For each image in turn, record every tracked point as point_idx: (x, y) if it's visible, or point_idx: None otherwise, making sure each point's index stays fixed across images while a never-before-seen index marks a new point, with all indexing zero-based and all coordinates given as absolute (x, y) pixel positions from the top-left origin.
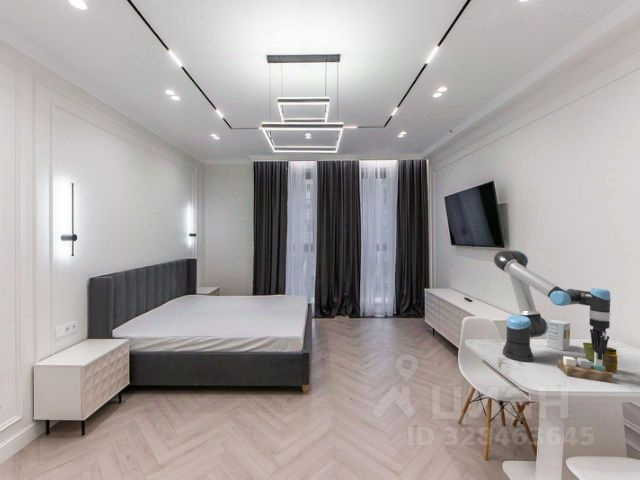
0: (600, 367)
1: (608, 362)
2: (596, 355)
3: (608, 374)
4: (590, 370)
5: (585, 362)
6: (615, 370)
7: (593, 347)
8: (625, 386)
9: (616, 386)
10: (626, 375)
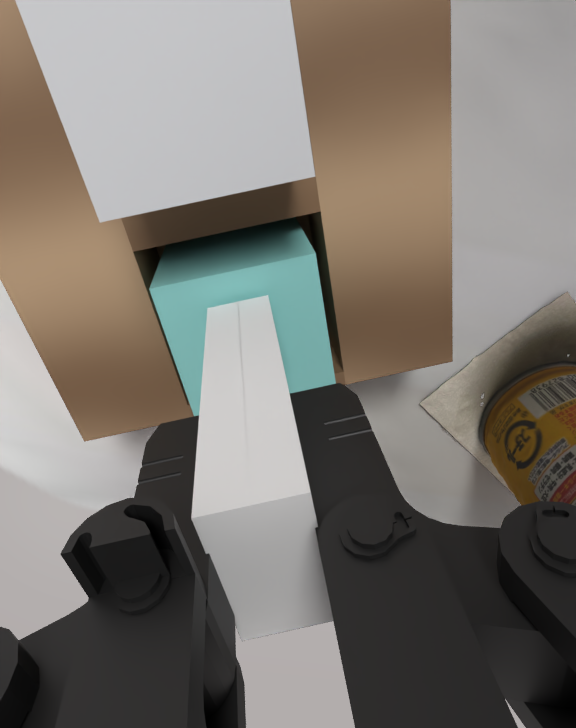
0: (177, 358)
1: (554, 482)
2: (197, 449)
3: (63, 400)
4: (20, 170)
5: (61, 96)
6: (498, 471)
7: (521, 583)
8: (99, 463)
9: (12, 393)
10: (456, 513)
